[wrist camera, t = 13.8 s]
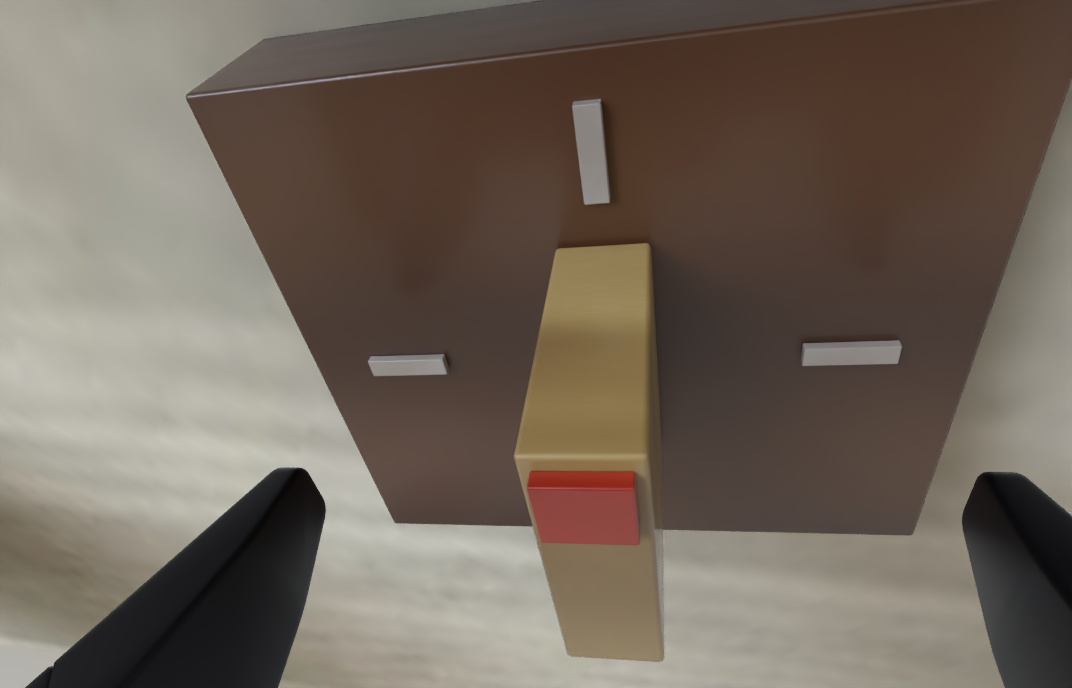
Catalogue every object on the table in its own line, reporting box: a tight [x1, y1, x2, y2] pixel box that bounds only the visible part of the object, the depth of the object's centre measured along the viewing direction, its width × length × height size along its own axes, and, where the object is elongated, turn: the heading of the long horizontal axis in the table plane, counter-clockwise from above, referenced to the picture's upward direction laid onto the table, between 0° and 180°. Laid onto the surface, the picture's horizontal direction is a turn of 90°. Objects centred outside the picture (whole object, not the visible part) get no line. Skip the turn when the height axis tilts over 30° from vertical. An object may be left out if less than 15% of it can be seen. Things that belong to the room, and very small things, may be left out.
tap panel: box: [186, 0, 1072, 535], centre depth 12 cm, size 10×11×3 cm
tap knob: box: [514, 243, 664, 662], centre depth 10 cm, size 4×1×4 cm, turn 9°
